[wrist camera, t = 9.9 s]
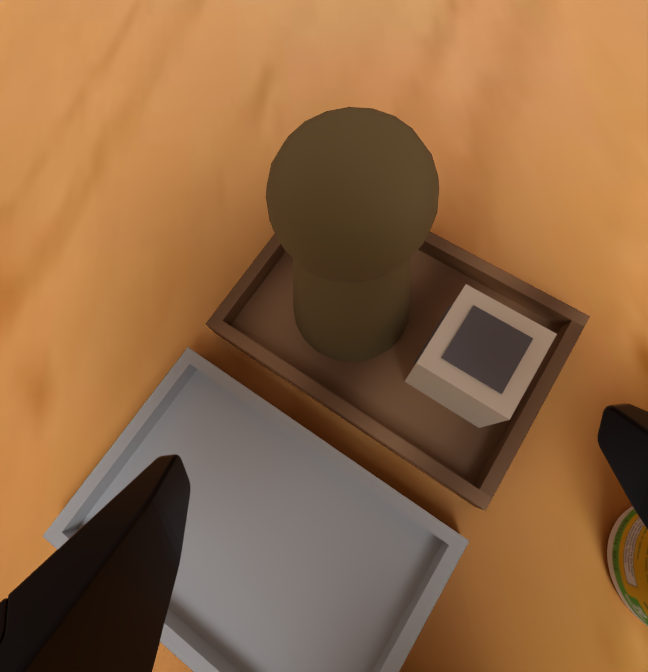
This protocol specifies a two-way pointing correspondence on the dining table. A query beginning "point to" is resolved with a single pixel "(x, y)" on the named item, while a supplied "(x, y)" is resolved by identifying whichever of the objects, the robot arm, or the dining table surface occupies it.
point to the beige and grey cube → (480, 358)
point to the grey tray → (275, 536)
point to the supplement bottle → (630, 562)
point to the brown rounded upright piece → (352, 226)
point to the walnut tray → (402, 362)
